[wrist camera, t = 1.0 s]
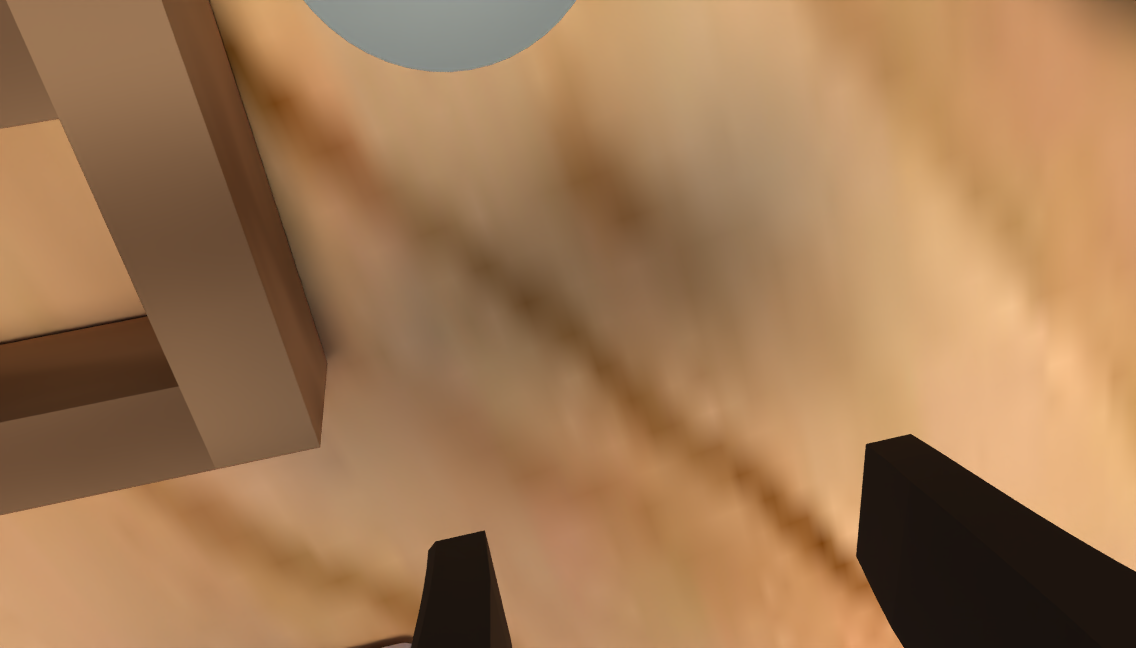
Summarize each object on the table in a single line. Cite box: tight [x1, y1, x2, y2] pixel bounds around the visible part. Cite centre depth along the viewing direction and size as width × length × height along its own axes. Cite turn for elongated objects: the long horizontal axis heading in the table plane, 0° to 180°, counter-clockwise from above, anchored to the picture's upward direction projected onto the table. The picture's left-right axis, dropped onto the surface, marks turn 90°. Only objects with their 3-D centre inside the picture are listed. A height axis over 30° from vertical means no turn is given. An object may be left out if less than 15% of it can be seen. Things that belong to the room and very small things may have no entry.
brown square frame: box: [0, 0, 327, 515], centre depth 15 cm, size 9×9×3 cm
